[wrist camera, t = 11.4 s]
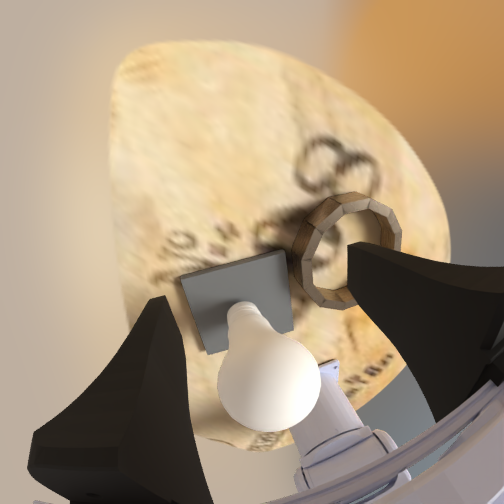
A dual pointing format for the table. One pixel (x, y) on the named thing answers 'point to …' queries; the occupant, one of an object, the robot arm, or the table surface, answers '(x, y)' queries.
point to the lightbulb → (265, 374)
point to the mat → (239, 295)
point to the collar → (321, 223)
